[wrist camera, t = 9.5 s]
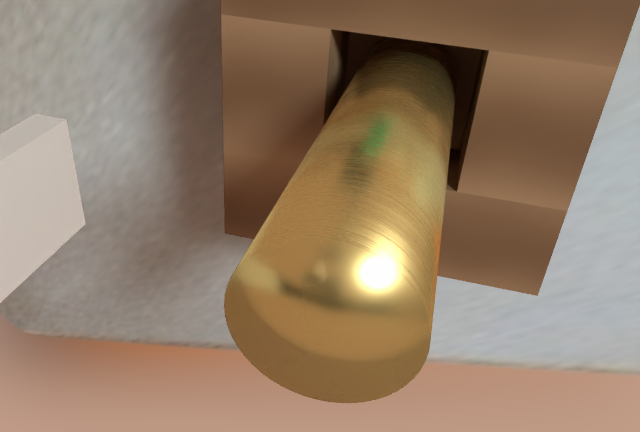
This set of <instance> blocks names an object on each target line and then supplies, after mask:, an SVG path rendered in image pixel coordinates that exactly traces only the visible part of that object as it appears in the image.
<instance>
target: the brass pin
mask: <svg viewBox="0 0 640 432" xmlns="http://www.w3.org/2000/svg"><path fill="white" fill-rule="evenodd" d="M456 88H457V71H456V67H455V63H454V61H453V59H452V57H451V55H450V53H449V52H448V50H447V49H446V48H445V47H444V46H443V45H442V44H437V43H430V42H423V41H415V40H408V39H400V38H393V37H386V38H384V39H382V40H381V41H379V42H378V43H377V44H376V45H375V46H374V47H373V48H372V49H371V50H370V51H369V53H368V55H367V56H366V58H365V59H364V61H363V63H362V64H361V66H360V67H359V69H358V71H357V72H356V74H355V76H354V77H353V79H352V81H351V82H350V84H349V85H348V87H347V89H346V90H345V92H344V94H343V95H342V97H341V98H340V100H339V102H338V103H337V105H336V107H335V108H334V110H333V111H332V113H331V115H330V116H329V118H328V120H327V121H326V123H325V125H324V126H323V128H322V129H321V131H320V133H319V134H318V136H317V138H316V139H315V141H314V142H313V144H312V146H311V147H310V149H309V151H308V152H307V154H306V155H305V157H304V159H303V160H302V162H301V164H300V165H299V167H298V168H297V170H296V172H295V173H294V175H293V177H292V178H291V180H290V182H289V183H288V185H287V186H286V188H285V190H284V191H283V193H282V195H281V196H280V198H279V199H278V201H277V203H276V204H275V206H274V208H273V209H272V211H271V212H270V214H269V216H268V217H267V219H266V221H265V222H264V224H263V226H262V227H261V229H260V230H259V232H258V234H257V235H256V237H255V239H254V240H253V242H252V243H251V245H250V247H249V248H248V250H247V252H246V253H245V255H244V256H243V258H242V260H241V261H240V263H239V265H238V266H237V268H236V269H235V271H234V273H233V274H232V276H231V278H230V281H229V283H228V285H227V289H226V293H225V302H224V308H225V317H226V321H227V325H228V328H229V331H230V333H231V335H232V337H233V339H234V341H235V343H236V345H237V346H238V348H239V349H240V350H241V352H242V353H243V355H244V356H245V357H246V358H247V359H248V360H249V361H250V362H251V364H252V365H254V366H255V367H256V368H257V369H258V370H259V371H260V372H261V373H263V374H264V375H265V376H267V377H268V378H269V379H271V380H273V381H274V382H276V383H278V384H279V385H281V386H283V387H285V388H287V389H289V390H291V391H293V392H296V393H298V394H301V395H303V396H307V397H310V398H313V399H317V400H323V401H328V402H337V403H358V402H366V401H371V400H376V399H379V398H382V397H385V396H388V395H390V394H392V393H394V392H396V391H398V390H399V389H401V388H403V387H404V386H406V385H407V384H408V383H409V382H410V381H411V380H412V379H413V378H414V377H415V376H416V375H417V374H418V372H419V371H420V370H421V368H422V366H423V365H424V363H425V361H426V358H427V355H428V352H429V347H430V340H431V330H432V321H433V311H434V301H435V292H436V282H437V272H438V262H439V253H440V243H441V233H442V224H443V214H444V204H445V194H446V185H447V175H448V165H449V156H450V146H451V136H452V126H453V117H454V107H455V97H456Z"/></svg>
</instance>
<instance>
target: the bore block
mask: <svg viewBox="0 0 640 432" xmlns="http://www.w3.org/2000/svg"><path fill="white" fill-rule="evenodd" d="M639 5H640V0H221V41H222V96H223V152H224V207H225V233H226V234H231V235H236V236H241V237H246V238H251V239H255V237H256V235H257V234H258V232H259V230H260V229H261V227H262V226H263V224H264V222H265V221H266V219H267V217H268V216H269V214H270V212H271V211H272V209H273V208H274V206H275V204H276V203H277V201H278V199H279V198H280V196H281V195H282V193H283V191H284V190H285V188H286V186H287V185H288V183H289V182H290V180H291V178H292V177H293V175H294V173H295V172H296V170H297V168H298V167H299V165H300V164H301V162H302V160H303V159H304V157H305V155H306V154H307V152H308V151H309V149H310V147H311V146H312V144H313V142H314V141H315V139H316V138H317V136H318V134H319V133H320V131H321V129H322V128H323V126H324V125H325V123H326V121H327V120H328V118H329V116H330V115H331V113H332V111H333V110H334V108H335V107H336V105H337V103H338V102H339V100H340V98H341V97H342V95H343V94H344V92H345V90H346V89H347V87H348V85H349V84H350V82H351V81H352V79H353V77H354V76H355V74H356V72H357V71H358V69H359V67H360V66H361V64H362V63H363V61H364V59H365V58H366V56H367V55H368V53H369V51H370V50H371V49H372V48H373V47H374V46H375V45H376V44H377V43H378V42H379V41H381V40H382V39H384V38H386V37H393V38H400V39H408V40H415V41H423V42H430V43H437V44H442V45H443V46H444V47H445V48H446V49H447V50H448V52H449V53H450V55H451V57H452V59H453V61H454V63H455V67H456V71H457V88H456V97H455V107H454V117H453V126H452V136H451V146H450V156H449V165H448V175H447V185H446V194H445V204H444V214H443V224H442V233H441V243H440V253H439V262H438V272H437V276H442V277H447V278H452V279H457V280H462V281H467V282H472V283H477V284H482V285H487V286H492V287H497V288H502V289H507V290H512V291H517V292H522V293H527V294H532V295H537V296H538V293H539V290H540V287H541V284H542V281H543V279H544V276H545V273H546V270H547V267H548V264H549V261H550V259H551V256H552V253H553V250H554V247H555V244H556V242H557V239H558V236H559V233H560V230H561V227H562V224H563V222H564V219H565V216H566V213H567V210H568V207H569V205H570V202H571V199H572V196H573V193H574V190H575V187H576V185H577V182H578V179H579V176H580V173H581V170H582V168H583V165H584V162H585V159H586V156H587V153H588V151H589V148H590V145H591V142H592V139H593V136H594V133H595V131H596V128H597V125H598V122H599V119H600V116H601V114H602V111H603V108H604V105H605V102H606V99H607V96H608V94H609V91H610V88H611V85H612V82H613V79H614V77H615V74H616V71H617V68H618V65H619V62H620V59H621V57H622V54H623V51H624V48H625V45H626V42H627V40H628V37H629V34H630V31H631V28H632V25H633V22H634V20H635V17H636V14H637V11H638V8H639Z"/></svg>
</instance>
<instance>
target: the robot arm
mask: <svg viewBox="0 0 640 432" xmlns="http://www.w3.org/2000/svg"><path fill="white" fill-rule="evenodd" d="M84 225H85V219H84V213H83V208H82V202H81V197H80V192H79V186H78V181H77V175H76V170H75V164H74V159H73V154H72V148H71V143H70V137H69V132H68V127H67V121H66V119H61V118H55V117H49V116H44V115H38V114H34V115H32V116H31V117H29V118H27V119H25V120H24V121H22V122H20V123H18V124H17V125H15V126H13V127H11V128H10V129H8V130H6V131H5V132H3V133H1V134H0V303H1V302H2V301H3V300H4V299H5V298H6V297H7V296H8V295H9V294H10V293H12V292H13V291H14V290H15V289H16V288H17V287H18V286H19V285H20V284H21V283H22V282H23V281H25V280H26V279H27V278H28V277H29V276H30V275H31V274H32V273H33V272H34V271H35V270H36V269H37V268H39V267H40V266H41V265H42V264H43V263H44V262H45V261H46V260H47V259H48V258H49V257H50V256H52V255H53V254H54V253H55V252H56V251H57V250H58V249H59V248H60V247H61V246H62V245H63V244H65V243H66V242H67V241H68V240H69V239H70V238H71V237H72V236H73V235H74V234H75V233H76V232H78V231H79V230H80V229H81V228H82V227H83V226H84Z"/></svg>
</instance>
